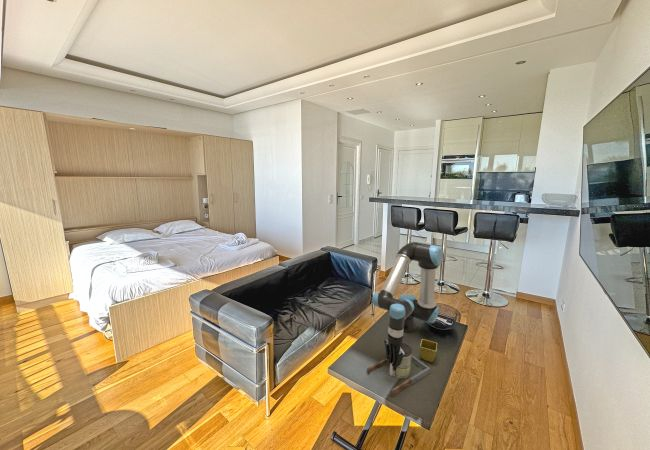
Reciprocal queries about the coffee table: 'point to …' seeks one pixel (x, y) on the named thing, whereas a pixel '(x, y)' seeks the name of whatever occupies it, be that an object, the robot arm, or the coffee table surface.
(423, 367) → the grey piece
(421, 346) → the flower pot
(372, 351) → the coffee table surface
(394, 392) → the slot rails
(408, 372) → the coffee can
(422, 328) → the coffee table surface
